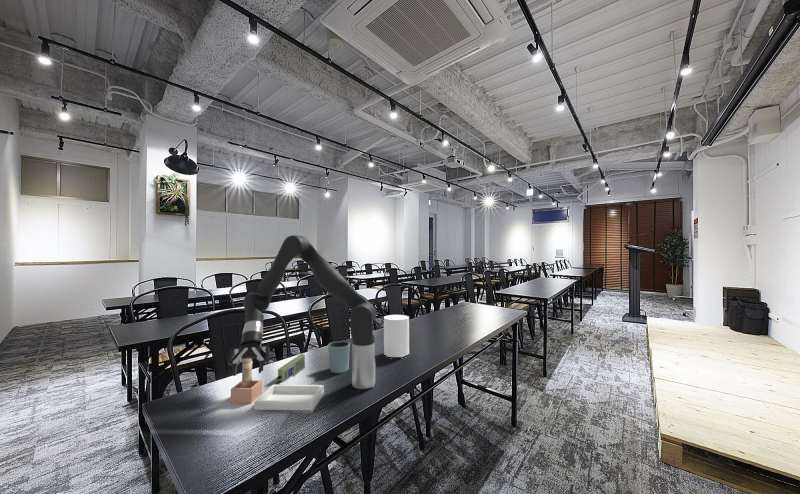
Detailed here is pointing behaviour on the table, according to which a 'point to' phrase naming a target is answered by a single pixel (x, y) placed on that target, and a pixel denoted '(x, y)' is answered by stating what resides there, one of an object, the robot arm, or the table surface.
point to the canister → (396, 335)
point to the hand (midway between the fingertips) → (247, 373)
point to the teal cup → (339, 356)
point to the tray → (290, 398)
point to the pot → (246, 392)
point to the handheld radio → (291, 368)
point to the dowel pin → (247, 373)
